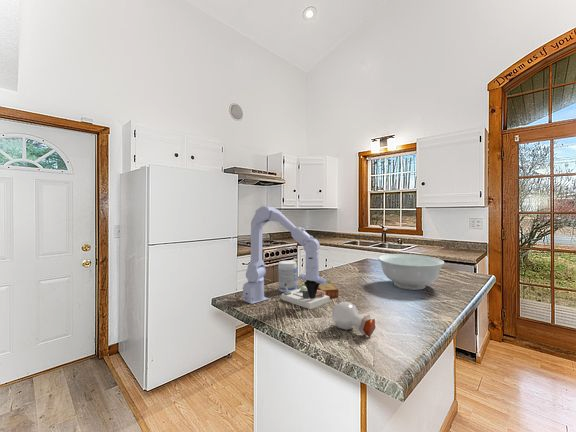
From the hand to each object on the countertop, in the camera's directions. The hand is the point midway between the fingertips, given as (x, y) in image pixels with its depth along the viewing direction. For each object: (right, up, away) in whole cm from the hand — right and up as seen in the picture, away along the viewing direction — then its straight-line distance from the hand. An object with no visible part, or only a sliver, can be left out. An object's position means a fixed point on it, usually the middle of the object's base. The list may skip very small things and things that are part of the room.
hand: (312, 297), depth 124 cm
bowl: (+55, -2, +29) cm, 62 cm away
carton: (+8, -3, +18) cm, 20 cm away
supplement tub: (-11, -3, +23) cm, 25 cm away
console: (-3, -3, +7) cm, 8 cm away
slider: (-3, -1, +3) cm, 4 cm away
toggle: (-11, 0, +9) cm, 14 cm away
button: (-3, -1, +12) cm, 13 cm away
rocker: (+3, +1, +5) cm, 6 cm away
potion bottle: (+12, -4, -25) cm, 28 cm away
